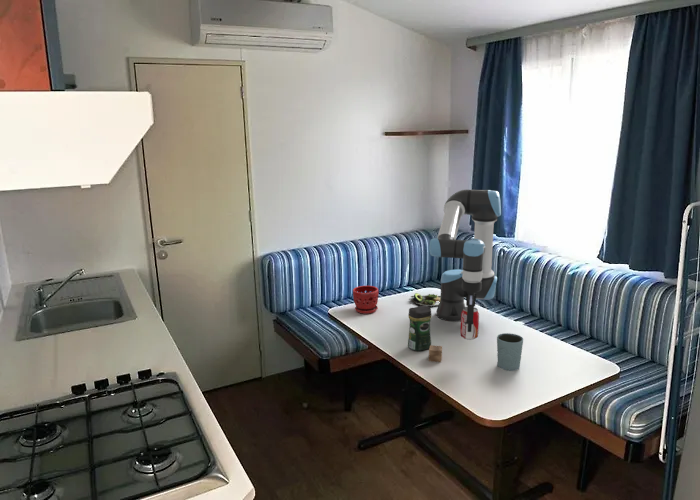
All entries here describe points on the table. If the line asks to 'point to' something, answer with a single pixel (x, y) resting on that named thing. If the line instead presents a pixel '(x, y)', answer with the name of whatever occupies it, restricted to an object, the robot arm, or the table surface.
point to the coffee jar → (419, 328)
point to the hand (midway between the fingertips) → (469, 334)
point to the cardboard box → (435, 353)
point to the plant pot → (365, 299)
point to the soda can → (475, 324)
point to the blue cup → (509, 351)
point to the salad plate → (425, 300)
